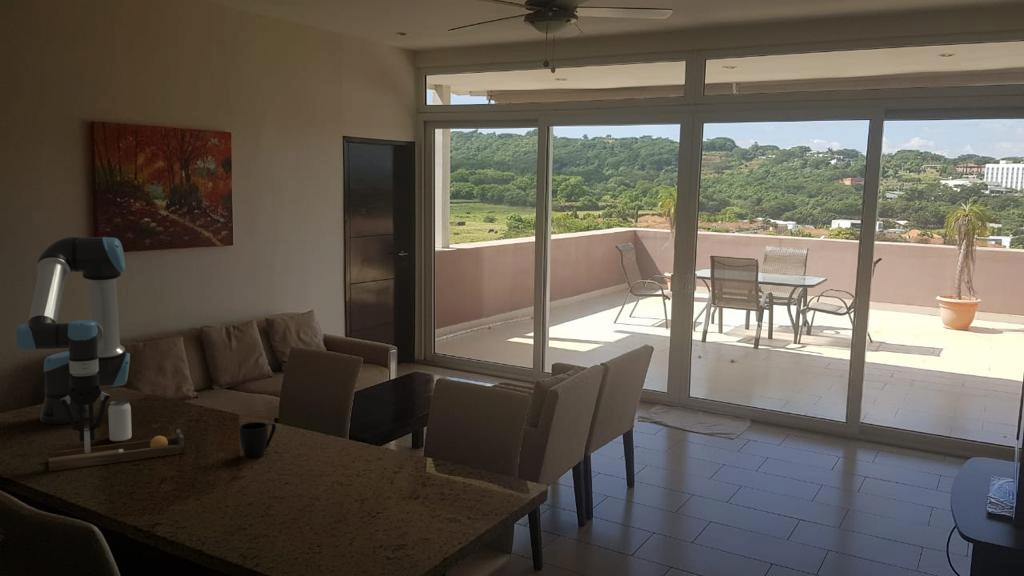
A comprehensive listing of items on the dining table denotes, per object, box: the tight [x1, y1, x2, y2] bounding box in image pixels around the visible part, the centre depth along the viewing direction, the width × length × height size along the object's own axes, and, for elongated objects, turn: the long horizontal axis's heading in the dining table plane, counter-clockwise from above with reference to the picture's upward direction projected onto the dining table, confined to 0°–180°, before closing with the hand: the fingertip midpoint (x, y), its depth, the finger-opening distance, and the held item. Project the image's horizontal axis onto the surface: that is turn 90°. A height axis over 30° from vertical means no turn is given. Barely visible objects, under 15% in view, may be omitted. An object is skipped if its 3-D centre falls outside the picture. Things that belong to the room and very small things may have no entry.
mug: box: [239, 421, 277, 460], centre depth 242 cm, size 8×12×10 cm
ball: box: [150, 435, 168, 449], centre depth 241 cm, size 5×5×5 cm
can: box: [107, 400, 133, 443], centre depth 253 cm, size 6×6×12 cm
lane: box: [48, 428, 185, 472], centre depth 237 cm, size 10×36×5 cm, turn 120°
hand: (87, 451), depth 233 cm, fingers closed
